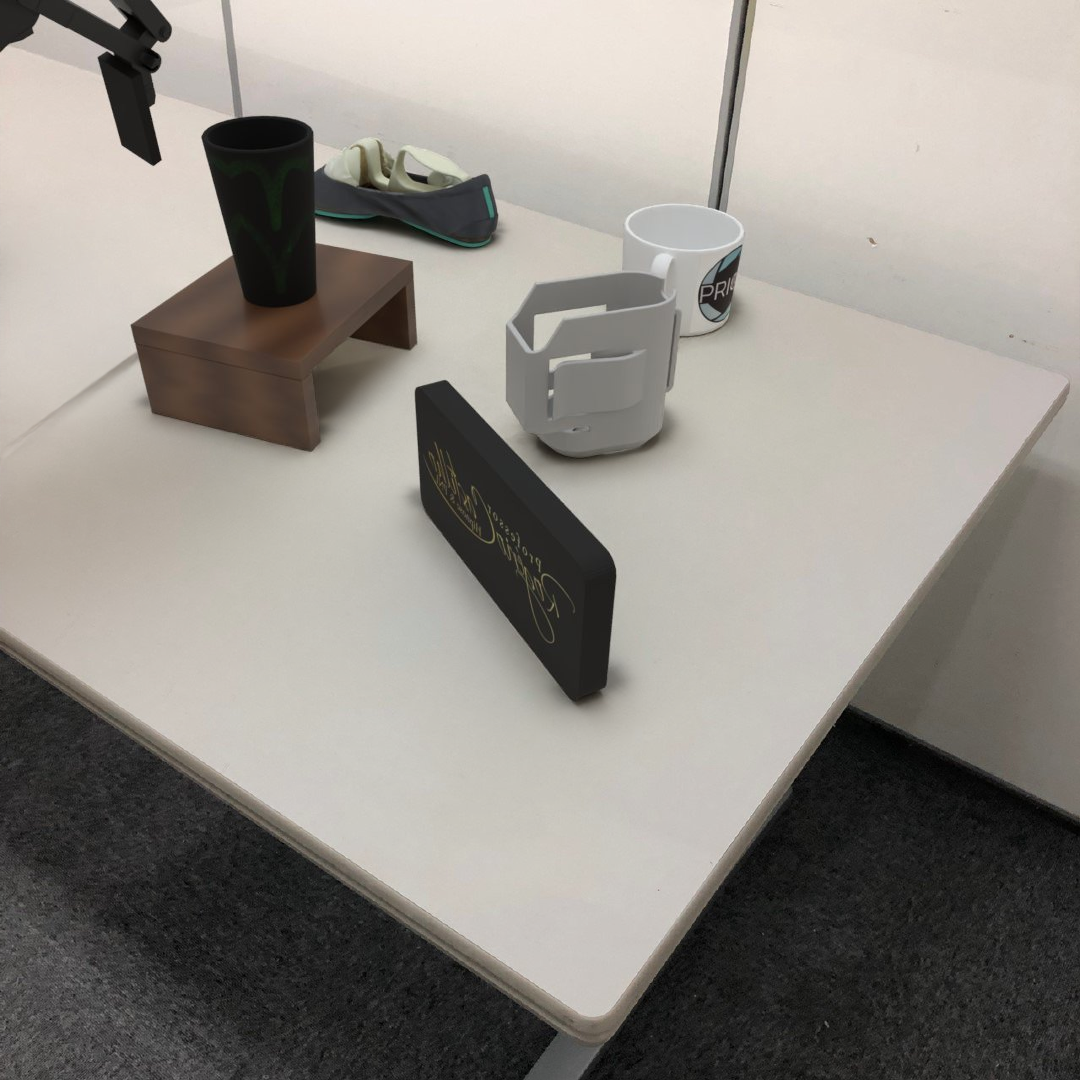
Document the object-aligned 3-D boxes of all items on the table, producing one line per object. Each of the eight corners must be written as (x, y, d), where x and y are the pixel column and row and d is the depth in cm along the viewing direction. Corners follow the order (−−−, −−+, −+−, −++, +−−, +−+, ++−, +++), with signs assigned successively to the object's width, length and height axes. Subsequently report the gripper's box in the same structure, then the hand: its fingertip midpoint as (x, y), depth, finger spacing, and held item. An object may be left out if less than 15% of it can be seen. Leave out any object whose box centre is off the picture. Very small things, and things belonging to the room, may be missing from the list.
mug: (636, 278, 102) (643, 196, 97) (743, 298, 99) (756, 214, 94) (591, 340, 92) (596, 252, 87) (709, 364, 90) (721, 274, 84)
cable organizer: (502, 432, 81) (502, 286, 73) (651, 406, 84) (665, 263, 76) (530, 481, 76) (533, 330, 68) (687, 451, 79) (707, 304, 72)
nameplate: (605, 695, 60) (618, 560, 54) (577, 707, 59) (586, 572, 53) (445, 499, 74) (441, 373, 68) (421, 506, 73) (413, 380, 67)
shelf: (151, 412, 82) (130, 324, 77) (276, 313, 95) (264, 232, 90) (311, 451, 78) (298, 362, 73) (417, 342, 91) (412, 260, 87)
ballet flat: (324, 186, 119) (316, 111, 113) (515, 229, 111) (515, 150, 105) (278, 211, 113) (267, 133, 108) (476, 259, 105) (474, 177, 100)
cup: (266, 262, 86) (243, 109, 78) (348, 280, 83) (333, 124, 76) (208, 302, 80) (177, 140, 72) (294, 322, 78) (272, 158, 70)
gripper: (-280, 26, 39) (-67, 370, 58) (198, -220, 51) (248, 135, 69) (-411, -66, 41) (-162, 300, 59) (83, -285, 52) (162, 80, 71)
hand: (59, 212), depth 64 cm, fingers open, 13 cm apart
